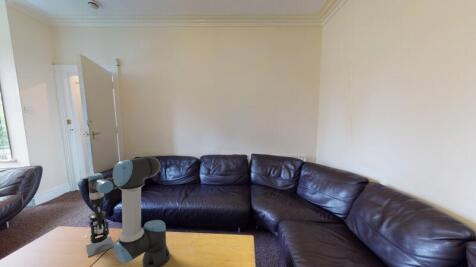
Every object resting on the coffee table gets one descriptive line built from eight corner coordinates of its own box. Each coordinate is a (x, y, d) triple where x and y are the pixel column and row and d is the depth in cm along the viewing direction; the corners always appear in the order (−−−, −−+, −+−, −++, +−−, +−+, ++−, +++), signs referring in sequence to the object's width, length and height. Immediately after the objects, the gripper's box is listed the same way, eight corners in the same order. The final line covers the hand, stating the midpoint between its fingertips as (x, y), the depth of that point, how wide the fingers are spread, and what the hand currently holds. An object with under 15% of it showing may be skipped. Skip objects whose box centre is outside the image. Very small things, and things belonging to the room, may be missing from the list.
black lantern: (85, 243, 121) (82, 208, 119) (97, 234, 130) (94, 202, 129) (103, 243, 121) (100, 209, 119) (113, 234, 130) (111, 202, 128)
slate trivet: (114, 246, 126) (114, 245, 126) (88, 257, 116) (88, 256, 116) (110, 237, 136) (110, 236, 136) (86, 246, 126) (86, 245, 126)
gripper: (106, 200, 118) (109, 235, 120) (101, 191, 134) (103, 221, 136) (91, 204, 113) (94, 240, 115) (88, 193, 129) (90, 225, 131)
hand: (99, 230), depth 125 cm, fingers closed on black lantern, 9 cm apart
